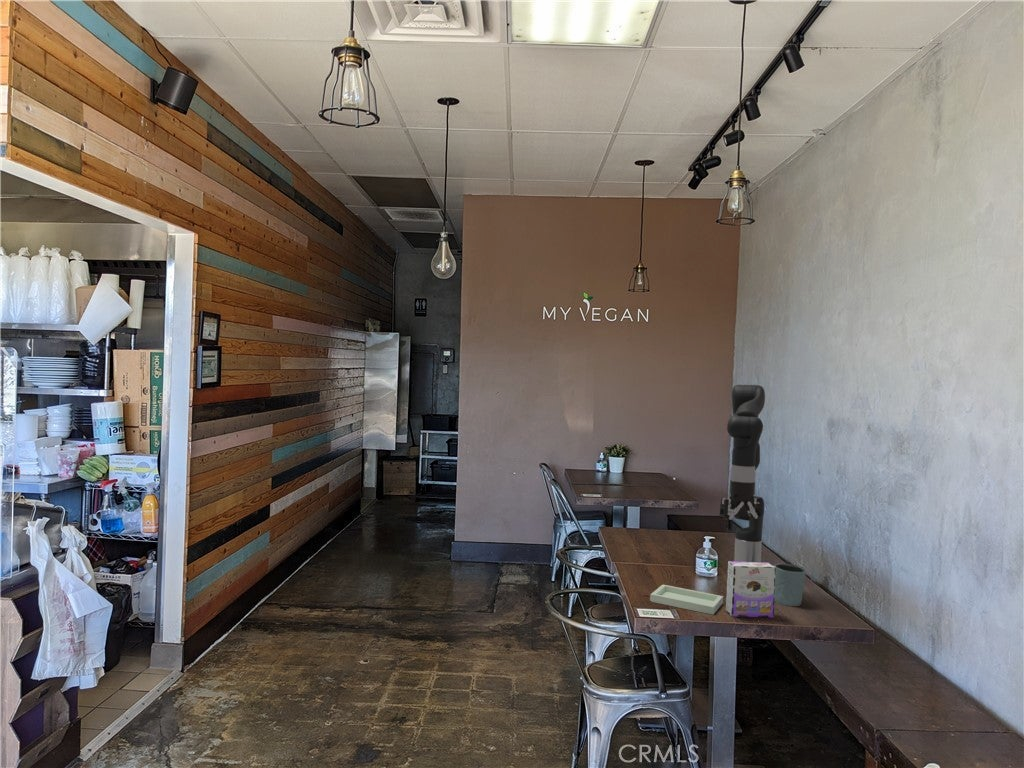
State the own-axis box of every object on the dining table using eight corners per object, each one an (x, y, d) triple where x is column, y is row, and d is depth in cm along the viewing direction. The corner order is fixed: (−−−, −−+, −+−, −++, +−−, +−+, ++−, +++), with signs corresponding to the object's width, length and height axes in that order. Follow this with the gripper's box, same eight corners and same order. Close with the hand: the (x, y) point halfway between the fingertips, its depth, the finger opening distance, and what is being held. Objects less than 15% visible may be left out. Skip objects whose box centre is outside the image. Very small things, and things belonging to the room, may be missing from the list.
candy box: (766, 612, 221) (769, 561, 220) (774, 618, 215) (776, 566, 215) (724, 610, 220) (727, 560, 220) (731, 616, 214) (733, 565, 214)
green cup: (778, 595, 239) (779, 561, 239) (808, 602, 233) (809, 567, 233) (768, 601, 231) (770, 567, 231) (799, 609, 225) (801, 573, 225)
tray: (662, 591, 237) (662, 584, 237) (722, 603, 227) (723, 596, 227) (650, 601, 225) (650, 594, 225) (713, 614, 215) (713, 607, 215)
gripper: (754, 477, 219) (752, 526, 219) (716, 477, 215) (714, 528, 215) (769, 481, 212) (767, 532, 212) (730, 481, 207) (728, 534, 208)
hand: (740, 530), depth 214 cm, fingers open, 8 cm apart
